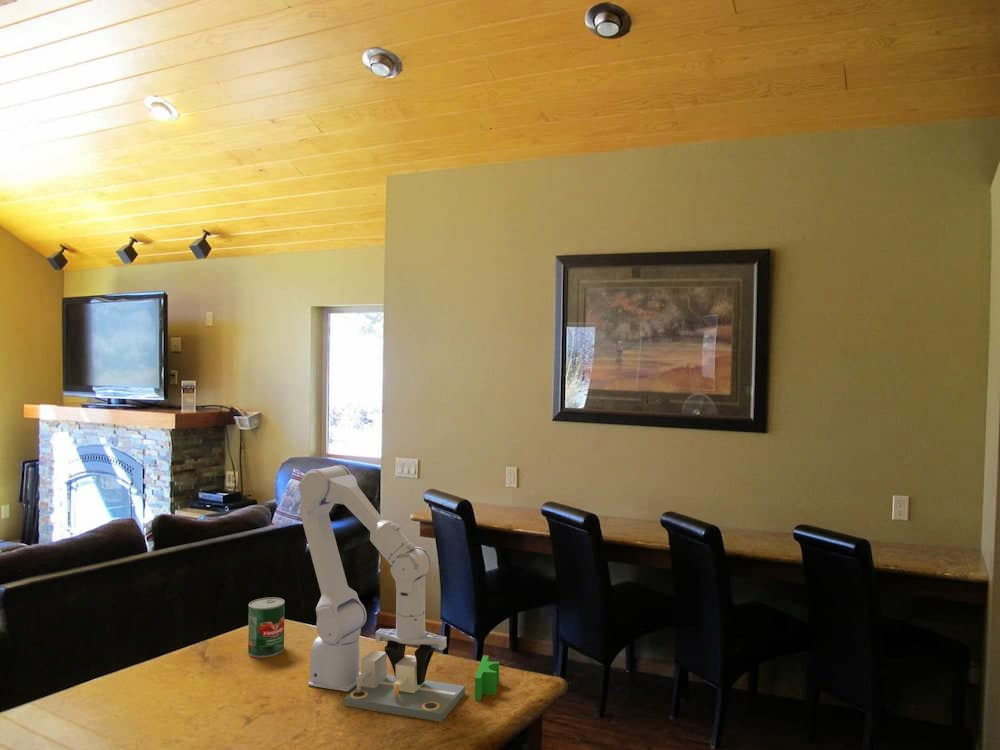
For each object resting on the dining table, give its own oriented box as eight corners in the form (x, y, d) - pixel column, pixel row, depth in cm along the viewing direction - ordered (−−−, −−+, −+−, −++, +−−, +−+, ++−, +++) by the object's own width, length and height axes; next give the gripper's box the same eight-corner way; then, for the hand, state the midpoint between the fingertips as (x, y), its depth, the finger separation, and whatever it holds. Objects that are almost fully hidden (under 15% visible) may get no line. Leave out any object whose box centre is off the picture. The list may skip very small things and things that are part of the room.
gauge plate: (344, 705, 129) (344, 670, 129) (374, 679, 140) (374, 647, 140) (441, 722, 123) (441, 684, 123) (464, 693, 134) (465, 659, 134)
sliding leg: (386, 699, 128) (386, 672, 128) (406, 679, 136) (406, 654, 137) (405, 702, 127) (405, 675, 127) (424, 682, 135) (425, 657, 135)
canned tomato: (271, 659, 151) (272, 609, 151) (240, 655, 153) (241, 606, 153) (290, 645, 158) (291, 598, 159) (260, 642, 160) (261, 596, 160)
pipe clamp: (494, 702, 131) (494, 679, 131) (474, 701, 131) (474, 678, 131) (500, 677, 142) (500, 655, 142) (483, 676, 143) (483, 654, 143)
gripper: (452, 609, 135) (452, 677, 135) (387, 602, 140) (386, 668, 140) (438, 621, 129) (438, 693, 128) (370, 612, 133) (369, 682, 133)
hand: (410, 681), depth 134 cm, fingers closed on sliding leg, 4 cm apart
